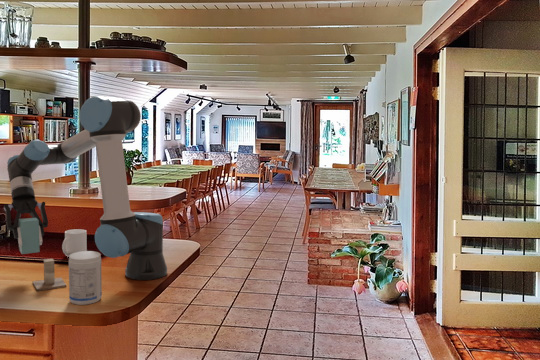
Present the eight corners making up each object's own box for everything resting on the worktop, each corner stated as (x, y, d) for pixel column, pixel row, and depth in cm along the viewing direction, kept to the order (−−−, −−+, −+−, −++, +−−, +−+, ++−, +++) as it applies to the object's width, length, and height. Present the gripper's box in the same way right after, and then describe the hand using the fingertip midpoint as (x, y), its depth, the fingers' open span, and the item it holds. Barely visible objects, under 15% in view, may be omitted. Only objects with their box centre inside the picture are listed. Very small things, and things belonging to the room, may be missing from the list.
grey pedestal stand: (32, 283, 161) (32, 258, 160) (60, 278, 166) (60, 255, 165) (37, 291, 153) (36, 265, 152) (66, 286, 158) (65, 261, 157)
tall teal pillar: (19, 250, 166) (18, 219, 165) (37, 248, 169) (36, 217, 168) (21, 254, 162) (20, 221, 160) (39, 252, 165) (38, 220, 163)
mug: (71, 261, 186) (71, 236, 185) (54, 259, 189) (53, 234, 187) (90, 254, 198) (90, 230, 197) (74, 252, 200) (74, 228, 199)
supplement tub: (80, 293, 153) (79, 249, 151) (107, 296, 151) (107, 251, 150) (62, 304, 143) (61, 257, 141) (91, 307, 142) (91, 260, 140)
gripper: (48, 196, 181) (58, 246, 170) (-7, 199, 171) (-1, 253, 159) (51, 184, 176) (61, 235, 165) (-7, 186, 166) (0, 241, 154)
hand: (30, 244), depth 162 cm, fingers closed on tall teal pillar, 6 cm apart
